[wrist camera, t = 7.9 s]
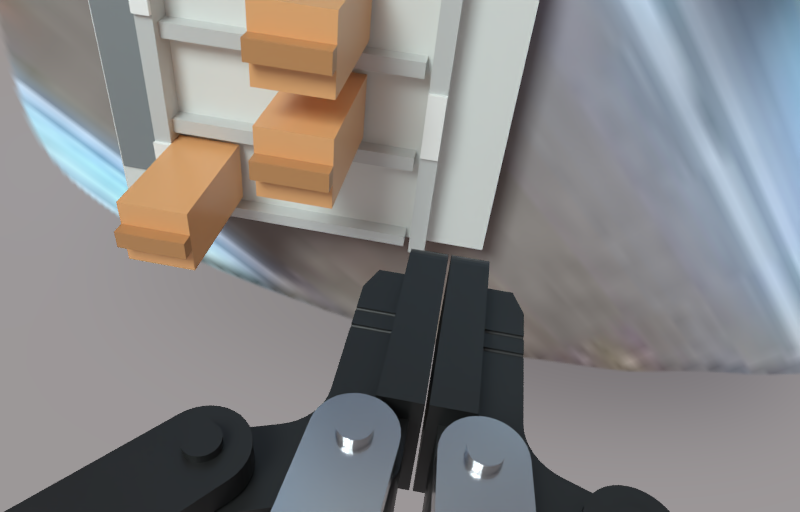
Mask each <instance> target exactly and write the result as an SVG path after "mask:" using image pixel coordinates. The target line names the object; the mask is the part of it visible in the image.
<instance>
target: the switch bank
mask: <svg viewBox="0 0 800 512" xmlns="http://www.w3.org/2000/svg"><path fill="white" fill-rule="evenodd" d="M88 2H89V7H90V12H91V16H92V21H93V26H94V31H95V35H96V40H97V45H98V49H99V54H100V59H101V63H102V68H103V73H104V78H105V82H106V87H107V92H108V96H109V101H110V106H111V111H112V115H113V120H114V125H115V129H116V134H117V139H118V143H119V148H120V153H121V158H122V162H123V167H124V172H125V176H126V181H127V186H128V189H129V188H130V187H131V186H132V185H133V184H134V183H135V182H136V181H137V179H138V178H139V177H140V176H141V175H142V174H143V173H144V172H145V171H146V170H147V169H148V168H149V167H150V166H151V165H152V163H153V162H154V161H155V160H156V159H157V158H158V157H159V156H160V155H161V154H162V153H163V152H164V151H165V150H166V149H167V147H168V146H169V145H170V144H171V143H172V142H173V141H174V140H175V139H176V138H177V137H178V136H179V135H184V136H190V137H196V138H202V139H208V140H214V141H220V142H226V143H232V144H238V145H239V147H240V161H241V174H242V187H243V198H242V199H241V201H240V202H239V204H238V205H237V207H236V208H235V210H234V211H233V213H232V214H231V216H233V217H239V218H244V219H250V220H256V221H262V222H267V223H273V224H279V225H285V226H290V227H296V228H302V229H308V230H313V231H319V232H325V233H331V234H336V235H342V236H348V237H354V238H359V239H365V240H371V241H377V242H382V243H388V244H394V245H400V246H403V244H404V240H405V237H409V238H410V239H409V246H408V252H411V249H417V250H423V251H424V250H425V245H426V240H427V241H432V242H438V243H444V244H450V245H456V246H461V247H467V248H473V249H479V250H482V248H483V244H484V239H485V235H486V231H487V226H488V222H489V218H490V213H491V209H492V205H493V200H494V196H495V192H496V187H497V183H498V178H499V174H500V170H501V165H502V161H503V157H504V152H505V148H506V144H507V139H508V135H509V131H510V126H511V122H512V118H513V113H514V109H515V104H516V100H517V96H518V91H519V87H520V83H521V78H522V74H523V70H524V65H525V61H526V57H527V52H528V48H529V44H530V39H531V35H532V30H533V26H534V22H535V17H536V13H537V9H538V4H539V0H372V10H371V25H370V40H369V42H368V44H367V45H366V47H365V49H364V51H363V52H362V54H361V56H360V58H359V60H358V61H357V63H356V65H355V67H354V68H353V70H352V72H354V73H360V74H367V86H366V101H365V117H364V132H363V138H362V141H361V143H360V145H359V148H358V150H357V152H356V154H355V157H354V159H353V161H352V164H351V166H350V168H349V171H348V173H347V175H346V177H345V180H344V182H343V184H342V187H341V189H340V191H339V194H338V196H337V198H336V200H335V203H334V205H333V207H332V209H330V208H324V207H319V206H313V205H307V204H301V203H295V202H289V201H284V200H278V199H272V198H266V197H260V196H256V181H254V180H250V178H249V163H248V161H249V159H250V158H251V156H252V155H253V154H254V145H253V128H252V126H253V125H254V123H255V122H256V121H257V119H258V118H259V117H260V115H261V114H262V113H263V111H264V110H265V109H266V107H267V106H268V105H269V103H270V102H271V101H272V99H273V98H274V97H275V96H276V94H277V93H278V92H279V91H275V90H269V89H262V88H256V87H250V77H249V63H245V62H242V57H241V42H240V37H241V36H242V35H243V34H244V33H245V32H246V31H247V26H246V9H245V0H88Z"/></svg>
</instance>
